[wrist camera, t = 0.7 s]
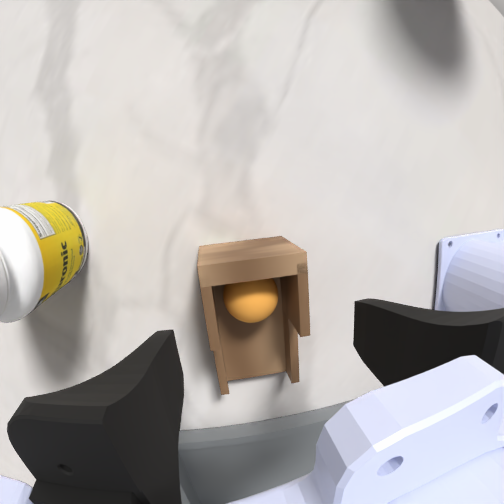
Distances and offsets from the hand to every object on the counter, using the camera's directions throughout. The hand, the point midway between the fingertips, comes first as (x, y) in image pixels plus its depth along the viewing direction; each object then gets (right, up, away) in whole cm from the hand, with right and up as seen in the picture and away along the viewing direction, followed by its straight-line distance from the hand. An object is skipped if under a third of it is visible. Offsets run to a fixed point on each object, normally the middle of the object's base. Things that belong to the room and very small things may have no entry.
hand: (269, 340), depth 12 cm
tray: (+2, -16, +12) cm, 20 cm away
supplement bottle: (-13, +4, +6) cm, 15 cm away
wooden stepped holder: (-1, 0, +8) cm, 8 cm away
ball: (-1, +1, +5) cm, 6 cm away
